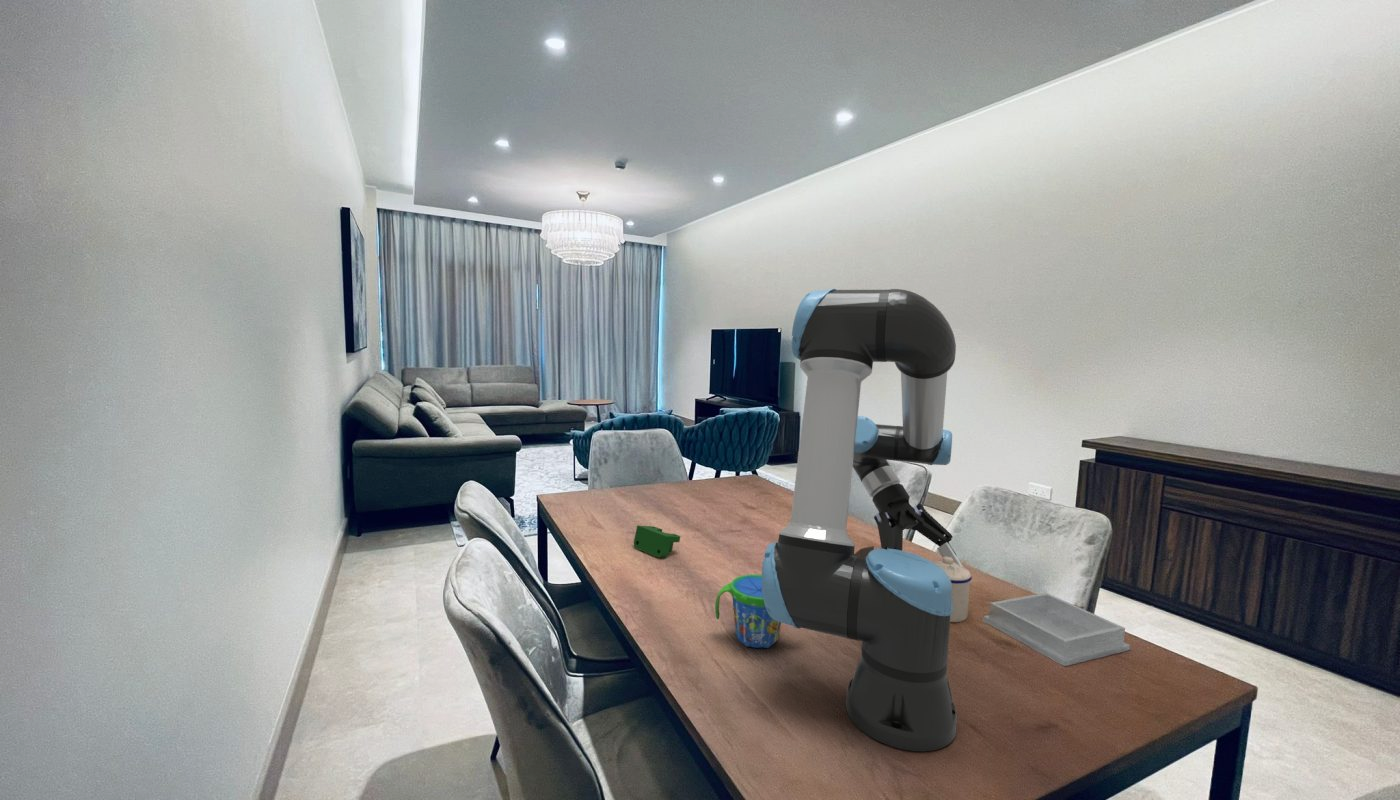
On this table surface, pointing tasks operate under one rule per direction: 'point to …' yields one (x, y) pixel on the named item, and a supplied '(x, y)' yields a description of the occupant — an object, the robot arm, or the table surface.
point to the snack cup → (750, 612)
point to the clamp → (654, 541)
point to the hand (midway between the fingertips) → (939, 579)
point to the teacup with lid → (957, 587)
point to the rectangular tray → (1057, 628)
